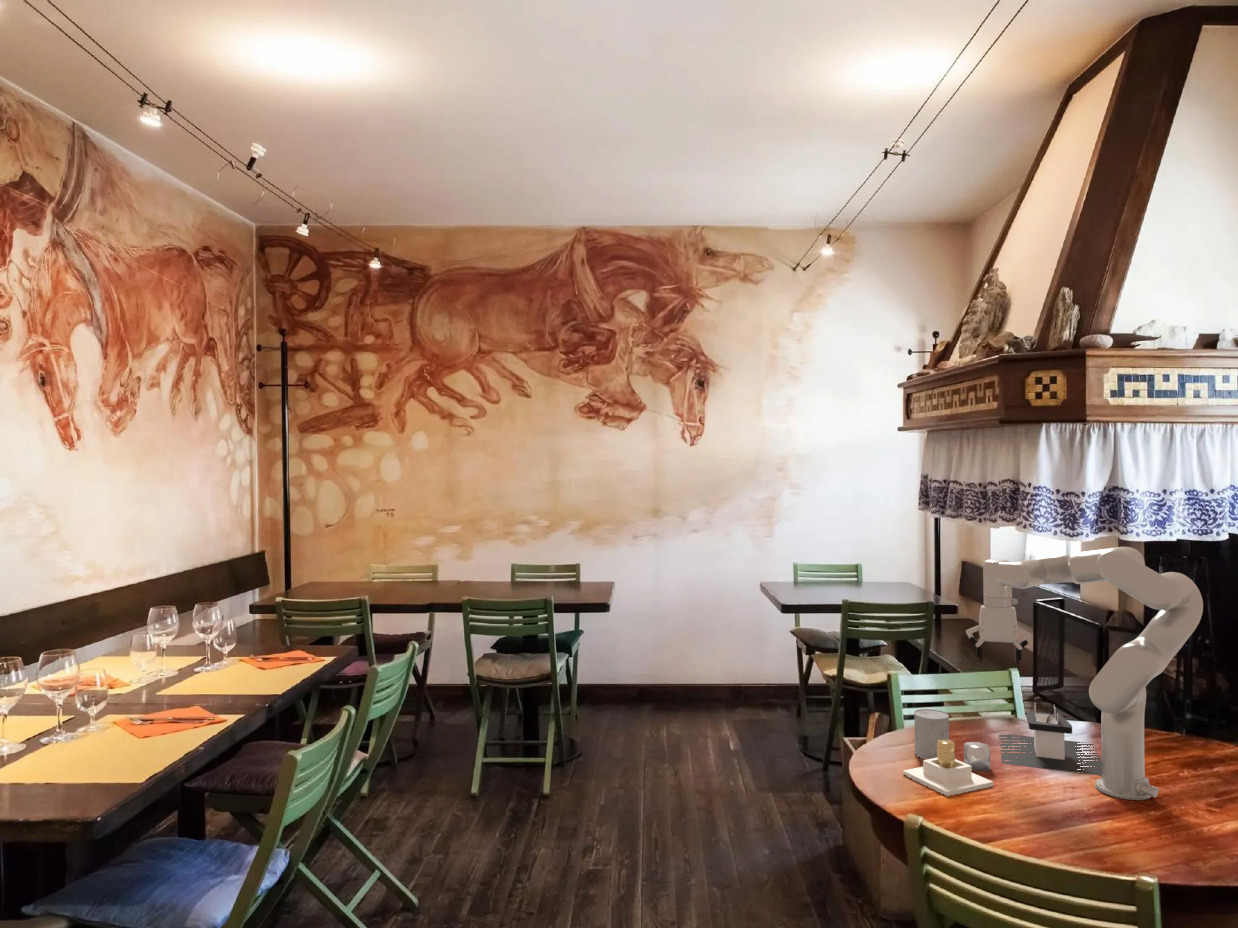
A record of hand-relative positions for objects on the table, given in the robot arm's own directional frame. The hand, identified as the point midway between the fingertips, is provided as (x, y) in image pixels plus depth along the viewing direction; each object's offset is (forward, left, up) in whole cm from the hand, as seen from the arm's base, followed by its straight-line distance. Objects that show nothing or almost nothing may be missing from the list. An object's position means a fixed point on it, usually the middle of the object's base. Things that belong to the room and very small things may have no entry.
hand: (998, 661), depth 234 cm
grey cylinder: (+10, +16, -28) cm, 34 cm away
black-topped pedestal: (-2, -17, -29) cm, 33 cm away
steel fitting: (-2, +11, -28) cm, 31 cm away
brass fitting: (-6, +26, -27) cm, 38 cm away
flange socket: (-6, +26, -28) cm, 39 cm away
